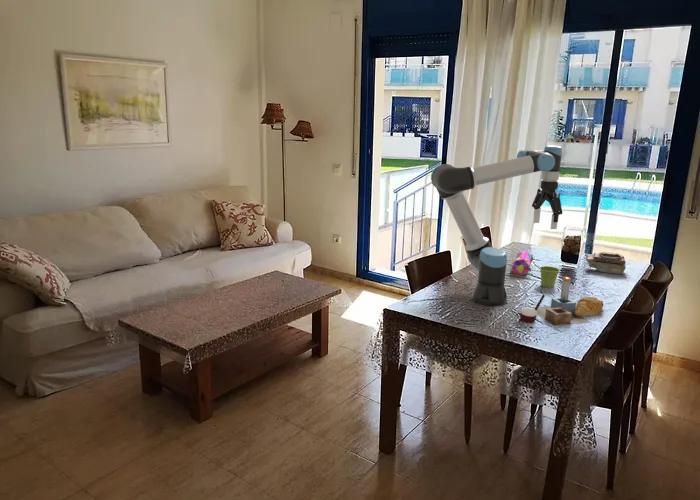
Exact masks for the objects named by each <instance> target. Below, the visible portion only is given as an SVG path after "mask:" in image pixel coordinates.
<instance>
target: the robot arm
mask: <svg viewBox="0 0 700 500" xmlns="http://www.w3.org/2000/svg"><path fill="white" fill-rule="evenodd" d="M562 153H563V149H562V147H561V146H559V145H546V146H544V149H542V150H538V149H537V150H535V149H532V150H531V149H529V150H528V149H525V150H521V149H520V150H519V151H518V152H517V154H516V158H513V159H512V158H511V159H507V160H503V161H498V162H494V163H488V164H485V165H484V164H483V165H481V166H476V167H471V166H465V167H455V166H453V165H451V164H447V163H443V164H439V165H437V166H435V167H434V168H433V170H432V171H431V175H430V180H431V184H432V186H434V188H435V189H436V191H437V192H438V196H439V197H440V199H441V200H445V201H446V204H447V206H448V208H449V210H450V212H451V215H452V217H453V219H454V220H455V223H456V226H457V227H458V229H459V231H460V234H461V236H462V237H463V240H464V242H465V244H466V245H465V246H464V250H465V252H466V253H467V259H468V261H469V263H470V264H471V265H472V266H474V268H476V270H478V275H477V283H476V286H475V288H474V291H473V293H472V300H473V301H474V302H475V303H477V304H479V305H483V306H489V307H499V306H504V305H506V304H507V302H508V295H507V291H506V287H505V283H506V270H507V263H508V255H507V253H506V251H505V250H503V249H501V248H498V247H495V246H492V243H491V242H490V240H489V238H488V237H486V236H484V234H483V233H482V230H481V228H480V225H479V223H478V221H477V218H476V217H475V214H474V213H473V210H472V208H471V206H470V204H469V202H468V200H467V198H466V195H465V193H464V192H465V191H469V190H474V189H475V188H476V186H479V185H484V184H489V183H493V182H497V181H502V180H506V179H510V178H514V177H520V176H523V175H528V174H532V173H537V172H541V177H540V179H541V180H540V185H539V187H540V188H537V192H536V195H535V197H534V199H533V201H532V204H531V207H532V208H533V209H534V212H533V222H532V223H533V224H539V223H540V220H541V211H542V209H541V207H542V205H544V203H545V201H547V203H548V204H549V205H550V208H551V211H552V214H551V221H550V230H557V227H558V222H559V216H560V215H563V209H562V203H561V193H560V192H556V190H558V189H559V181H558V180H559V179H560V172H561V171H560V170H561V162H562Z"/></svg>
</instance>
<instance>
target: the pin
mask: <svg viewBox="0 0 700 500" xmlns="http://www.w3.org/2000/svg"><path fill="white" fill-rule="evenodd" d="M571 280H572V278H571V277H568V276H563V277H562V284H561V291H560V297H559V298H560V302H562V303H565V302H568V298H569V294H570V286H571Z"/></svg>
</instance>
